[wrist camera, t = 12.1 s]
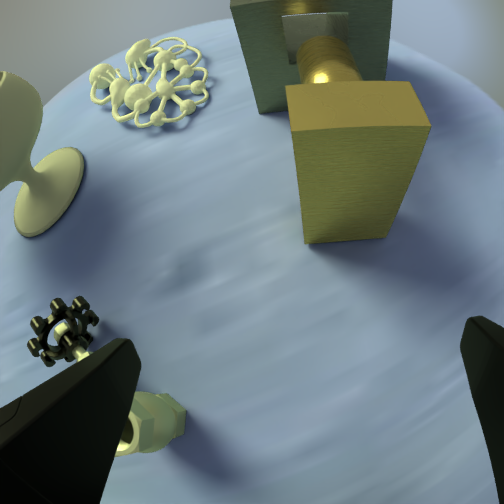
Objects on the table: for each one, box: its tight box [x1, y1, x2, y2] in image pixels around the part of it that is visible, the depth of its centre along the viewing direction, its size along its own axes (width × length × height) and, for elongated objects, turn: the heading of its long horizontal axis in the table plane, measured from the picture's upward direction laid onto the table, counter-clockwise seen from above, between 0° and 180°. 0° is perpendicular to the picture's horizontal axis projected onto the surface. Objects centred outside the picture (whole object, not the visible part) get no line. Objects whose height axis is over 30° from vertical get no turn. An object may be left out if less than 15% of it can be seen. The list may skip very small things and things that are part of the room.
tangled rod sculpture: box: [89, 37, 209, 128], centre depth 33 cm, size 19×14×4 cm
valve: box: [27, 296, 186, 457], centre depth 19 cm, size 7×7×12 cm
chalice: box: [0, 71, 84, 237], centre depth 24 cm, size 14×14×15 cm
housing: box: [230, 0, 393, 114], centre depth 24 cm, size 10×12×12 cm
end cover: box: [285, 36, 431, 244], centre depth 19 cm, size 11×6×12 cm, turn 1°
